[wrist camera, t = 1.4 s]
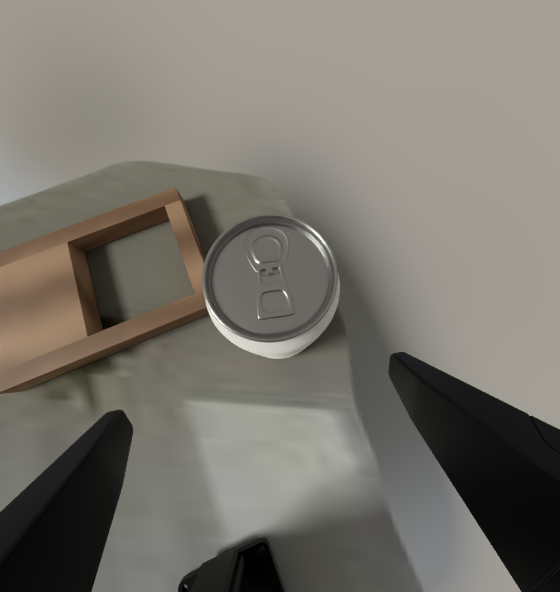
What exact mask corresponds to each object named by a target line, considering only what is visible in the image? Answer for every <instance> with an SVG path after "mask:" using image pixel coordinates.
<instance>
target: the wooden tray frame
mask: <svg viewBox="0 0 560 592" xmlns="http://www.w3.org/2000/svg"><path fill="white" fill-rule="evenodd" d="M168 220H170V223H171V226H172V229H173V231H174V234H175V237H176V240H177V243H178V246H179V249H180V252H181V254H182V257H183V260H184V263H185V266H186V269H187V272H188V275H189V278H190V280H191V283H192V286H193V289H194V292H195V293H194V294H192V295H189V296H187V297H184V298H182V299H179V300H177V301H174V302H172V303H170V304H167V305H165V306H162V307H160V308H157V309H155V310H152V311H150V312H147V313H145V314H142V315H140V316H137V317H135V318H132V319H130V320H128V321H125V322H123V323H120V324H118V325H115V326H113V327H110V328H108V329H105V330H103V328H102V323H101V319H100V315H99V311H98V306H97V302H96V298H95V294H94V289H93V285H92V281H91V276H90V272H89V268H88V264H87V259H86V255H85V252H86V251H88V250H91V249H94V248H96V247H99V246H102V245H104V244H107V243H110V242H112V241H115V240H117V239H120V238H123V237H125V236H128V235H131V234H133V233H136V232H139V231H141V230H144V229H147V228H149V227H152V226H155V225H157V224H160V223H162V222H165V221H168ZM205 259H206V258H205V255H204V253H203V250H202V247H201V245H200V242H199V239H198V237H197V234H196V231H195V229H194V226H193V223H192V220H191V218H190V215H189V212H188V210H187V207H186V204H185V202H184V200H183V198H182V197H181V195H180V193H179V192H178V190H177V189H176V187H175V188H172V189H169V190H167V191H164V192H161V193H158V194H156V195H153V196H150V197H148V198H145V199H142V200H139V201H137V202H134V203H131V204H129V205H126V206H123V207H120V208H118V209H115V210H112V211H110V212H107V213H104V214H101V215H99V216H96V217H93V218H91V219H88V220H85V221H82V222H80V223H77V224H74V225H71V226H69V227H66V228H63V229H61V230H58V231H55V232H52V233H50V234H47V235H44V236H42V237H39V238H36V239H33V240H31V241H28V242H25V243H23V244H20V245H17V246H14V247H12V248H9V249H6V250H3V251H1V252H0V394H3V393H13V392H21V391H24V390H26V389H29V388H31V387H34V386H36V385H38V384H41V383H43V382H46V381H48V380H50V379H53V378H55V377H58V376H60V375H63V374H65V373H67V372H70V371H72V370H75V369H77V368H80V367H82V366H84V365H87V364H89V363H92V362H94V361H96V360H99V359H101V358H104V357H106V356H109V355H111V354H113V353H116V352H118V351H121V350H123V349H126V348H128V347H130V346H133V345H135V344H138V343H140V342H142V341H145V340H147V339H150V338H152V337H155V336H157V335H159V334H162V333H164V332H167V331H169V330H172V329H174V328H176V327H179V326H181V325H184V324H186V323H188V322H191V321H193V320H196V319H198V318H201V317H203V316H205V315H208V314H209V312H208V310H207V306H206V302H205V297H204V293H203V287H202V272H203V266H204V262H205Z"/></svg>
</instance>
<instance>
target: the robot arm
mask: <svg viewBox="0 0 560 592" xmlns="http://www.w3.org/2000/svg"><path fill="white" fill-rule="evenodd" d="M389 376H390V379H391V381H392V383H393V385H394V387H395V389H396V391H397V393H398V394H399V397H400V399H401V401H402V402H403V404H404V406H405V408H406V410H407V412H408V414H409V416H410V418H411V420H412V421H413V423H414V425H415V426H416V428H417V429H418V431H419V433H420V434H421V436H422V437H423V439H424V440H425V442H426V443H427V445H428V447H429V448H430V450H431V451H432V453H433V454H434V456H435V457H436V459H437V461H438V462H439V464H440V465H441V467H442V468H443V470H444V471H445V473H446V474H447V476H448V478H449V479H450V481H451V482H452V484H453V486H454V487H455V489H456V490H457V492H458V493H459V495H460V496H461V498H462V499H463V501H464V502H465V504H466V506H467V507H468V509H469V511H470V512H471V514H472V515H473V517H474V518H475V520H476V521H477V523H478V525H479V526H480V528H481V529H482V531H483V532H484V534H485V536H486V537H487V539H488V540H489V542H490V543H491V545H492V546H493V548H494V549H495V551H496V552H497V554H498V556H499V557H500V559H501V561H502V562H503V563H504V565H505V567H506V568H507V570H508V571H509V573H510V575H511V576H512V578H513V579H514V581H515V582H516V584H517V585H518V587H519V588H520V590H521V592H560V429H557V428H555V427H553V426H551V425H549V424H547V423H545V422H543V421H541V420H539V419H537V418H535V417H533V416H529V415H528V414H527V413H525V412H523V411H521V410H519V409H517V408H515V407H513V406H511V405H509V404H507V403H505V402H503V401H501V400H499V399H497V398H495V397H493V396H491V395H489V394H487V393H485V392H483V391H481V390H479V389H477V388H475V387H473V386H471V385H469V384H467V383H465V382H463V381H461V380H459V379H457V378H455V377H453V376H451V375H449V374H447V373H445V372H443V371H441V370H439V369H437V368H435V367H432V366H430V365H429V364H427V363H425V362H423V361H421V360H419V359H417V358H415V357H412V356H411V355H409V354H407V353H404V352H399V353H394V354H391V356H390V362H389ZM132 436H133V427H132V424H131V422H130V421H129V419H128V418H127V416H126V414H125V413H124V411H122V410H115V411H111V412H107V413H106V414H105V415H103V416H102V417H101V418H100V419H99V420H98V421H97V422H96V423H95V424H94V425H93V426H92V427H91V428H90V429H89V430H87V431H86V432H85V433H84V434H83V435H82V436H81V437H80V438H79V439H78V440H77V441H76V442H75V443H74V444H73V445H71V446H70V447H69V448H68V449H67V450H66V451H65V452H64V453H63V454H62V455H61V456H60V457H59V458H58V459H57V460H55V461H54V462H53V463H52V464H51V465H50V466H49V467H48V468H47V469H46V470H45V471H44V472H43V473H42V474H41V475H39V476H38V477H37V478H36V479H35V480H34V481H33V482H32V483H31V484H30V485H29V486H28V487H27V488H26V489H25V490H23V491H22V492H21V493H20V494H19V495H18V496H17V497H16V498H15V499H14V500H13V501H12V502H11V503H10V504H9V505H7V506H6V507H5V508H4V509H3V510H2V511H1V512H0V592H91V591H92V588H93V584H94V581H95V578H96V574H97V571H98V567H99V564H100V561H101V557H102V554H103V551H104V547H105V544H106V540H107V537H108V534H109V530H110V527H111V523H112V520H113V517H114V513H115V510H116V507H117V503H118V500H119V496H120V493H121V489H122V486H123V481H124V477H125V472H126V466H127V461H128V456H129V451H130V446H131V441H132ZM261 546H263V547H264V548H265V551H260V549H259V548H260V547H261ZM184 584H187V585H188V586H189V589H187V588H185V586H184ZM178 592H285V589H284V586H283V583H282V580H281V577H280V574H279V572H278V569H277V566H276V563H275V560H274V557H273V554H272V551H271V548H270V545H269V542H268V541H267V540H266V539H264V538H261V539H258V540H256V541H254V542H252V543H250V544H248V545H246V546H244V547H242V548H240V549H237V548H233V549H231V550H229V551H227V552H225V553H223V554H221V555H219V556H217V557H215V558H213V559H211V560H209V561H207V562H205V563H203V564H202V565H201V567H200V569H198V570H196V571H194V572H192V573H190V574H188V575H186V576H184V577H183V579H182V580H181V582H180V584H179V587H178Z"/></svg>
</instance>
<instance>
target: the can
mask: <svg viewBox="0 0 560 592" xmlns="http://www.w3.org/2000/svg"><path fill="white" fill-rule="evenodd" d="M202 287H203V293H204V297H205V302H206V306H207V310H208V312H209V315H210V317H211V319H212V321H213V323H214V324H215V326H216V327H217V328H218V330H219V331H220V332H221V333H222V334H223V335H224V336H225V337H226V338H227V339H228V340H229V341H231V342H232V343H234V344H235V345H237V346H238V347H240V348H242V349H244V350H247V351H249V352H252V353H255V354H257V355H261V356H264V357H268V358H273V359H284V358H289V357H292V356H294V355H296V354H298V353H300V352H301V351H303V350H304V349H305V348H306V347H308V346H309V345H310V344H311V343H312V342H314V341H315V340H316V339H317V338H318V337H319V336H320V335H321V334H322V333H323V332H324V330H325V329H326V328H327V326H328V325H329V323H330V322H331V320H332V318H333V316H334V314H335V311H336V309H337V305H338V301H339V295H340V280H339V275H338V269H337V263H336V259H335V256H334V254H333V252H332V249H331V248H330V246H329V244H328V243H327V241H326V240H325V238H324V237H323V236H322V235H321V234H320V233H319V232H318V231H317V230H316V229H315V228H313V227H312V226H310V225H309V224H307V223H306V222H303V221H302V220H300V219H297V218H295V217H291V216H288V215H283V214H260V215H255V216H251V217H248V218H245V219H243V220H241V221H239V222H237V223H235V224H233V225H232V226H230V227H229V228H228V229H226V230H225V231H224V232H223V233H222V234H221V235H220V236H219V237H218V238H217V239H216V241H215V242H214V243H213V245H212V246H211V248H210V250H209V252H208V254H207V256H206V259H205V262H204V266H203V272H202Z"/></svg>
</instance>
